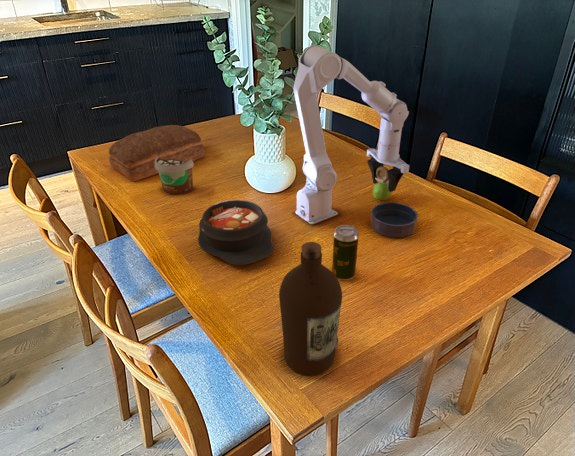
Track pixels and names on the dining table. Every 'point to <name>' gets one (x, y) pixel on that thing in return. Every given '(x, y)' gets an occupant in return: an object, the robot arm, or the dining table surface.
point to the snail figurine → (381, 184)
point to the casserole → (235, 232)
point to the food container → (175, 175)
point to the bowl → (393, 219)
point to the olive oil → (310, 313)
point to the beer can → (345, 252)
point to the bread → (154, 150)
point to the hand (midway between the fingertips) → (384, 186)
